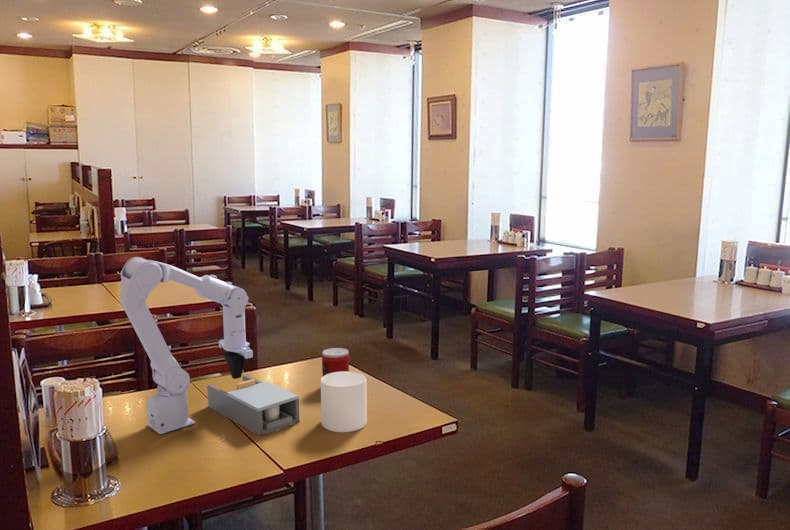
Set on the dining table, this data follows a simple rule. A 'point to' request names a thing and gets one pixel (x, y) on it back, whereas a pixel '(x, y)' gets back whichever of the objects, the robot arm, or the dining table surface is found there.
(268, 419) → the white rounded cylinder
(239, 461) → the dining table surface
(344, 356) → the canned food
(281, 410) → the housing
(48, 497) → the dining table surface
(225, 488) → the dining table surface
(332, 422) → the white cylinder
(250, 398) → the lid
